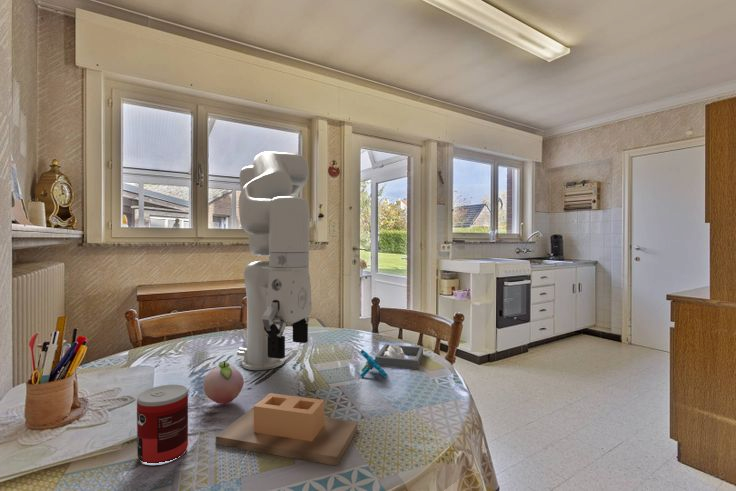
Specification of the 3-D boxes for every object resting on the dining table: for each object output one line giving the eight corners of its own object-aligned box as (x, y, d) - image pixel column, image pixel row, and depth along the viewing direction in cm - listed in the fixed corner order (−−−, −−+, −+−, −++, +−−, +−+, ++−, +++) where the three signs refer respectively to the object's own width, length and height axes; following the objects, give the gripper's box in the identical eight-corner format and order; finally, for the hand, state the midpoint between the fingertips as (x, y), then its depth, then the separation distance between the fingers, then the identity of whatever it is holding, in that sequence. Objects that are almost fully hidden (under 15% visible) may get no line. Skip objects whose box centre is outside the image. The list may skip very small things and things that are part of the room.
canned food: (151, 442, 67) (150, 384, 67) (195, 441, 68) (194, 383, 68) (127, 468, 60) (126, 403, 59) (177, 466, 60) (176, 401, 60)
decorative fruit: (199, 402, 84) (199, 360, 84) (234, 393, 89) (234, 353, 89) (209, 418, 76) (209, 372, 76) (247, 407, 81) (247, 363, 81)
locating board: (215, 444, 67) (215, 417, 67) (252, 414, 78) (252, 391, 78) (337, 465, 61) (337, 436, 60) (357, 429, 72) (357, 404, 72)
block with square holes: (324, 425, 71) (324, 400, 71) (311, 441, 65) (311, 414, 65) (270, 417, 74) (270, 393, 74) (253, 432, 68) (253, 406, 68)
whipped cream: (390, 357, 120) (390, 342, 120) (409, 358, 117) (408, 343, 117) (379, 362, 113) (378, 346, 114) (399, 364, 110) (398, 348, 110)
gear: (391, 377, 95) (364, 350, 96) (376, 394, 95) (349, 367, 95) (385, 368, 106) (361, 344, 107) (372, 383, 105) (347, 359, 106)
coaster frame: (375, 365, 109) (375, 356, 109) (385, 351, 123) (385, 344, 123) (417, 369, 106) (417, 360, 106) (423, 354, 119) (423, 347, 119)
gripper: (285, 265, 60) (284, 367, 60) (324, 259, 76) (323, 338, 77) (245, 264, 62) (245, 362, 62) (292, 258, 78) (292, 335, 79)
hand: (289, 349), depth 69 cm, fingers open, 9 cm apart
